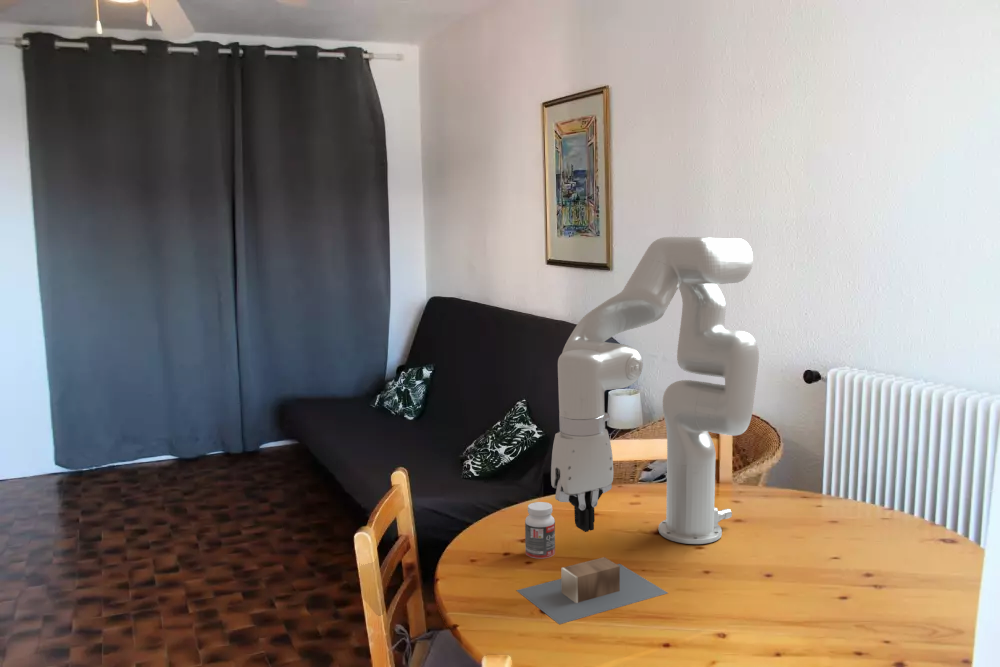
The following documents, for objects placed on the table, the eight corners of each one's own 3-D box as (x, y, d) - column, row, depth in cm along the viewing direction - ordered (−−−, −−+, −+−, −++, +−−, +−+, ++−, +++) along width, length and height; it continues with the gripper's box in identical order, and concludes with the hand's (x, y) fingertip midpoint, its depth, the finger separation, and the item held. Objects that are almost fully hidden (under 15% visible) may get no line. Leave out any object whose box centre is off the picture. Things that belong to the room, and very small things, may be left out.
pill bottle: (552, 562, 159) (552, 512, 158) (523, 560, 160) (522, 510, 159) (556, 550, 165) (556, 501, 163) (528, 548, 166) (527, 500, 164)
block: (561, 592, 145) (604, 581, 149) (575, 603, 141) (619, 591, 145) (561, 567, 144) (604, 557, 149) (575, 577, 140) (619, 566, 145)
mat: (619, 566, 157) (619, 563, 156) (668, 596, 144) (668, 592, 144) (516, 593, 146) (516, 590, 146) (559, 627, 134) (559, 624, 134)
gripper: (606, 412, 147) (608, 512, 150) (532, 426, 140) (535, 531, 143) (632, 422, 140) (633, 526, 143) (555, 437, 133) (559, 546, 137)
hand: (584, 528), depth 143 cm, fingers closed
